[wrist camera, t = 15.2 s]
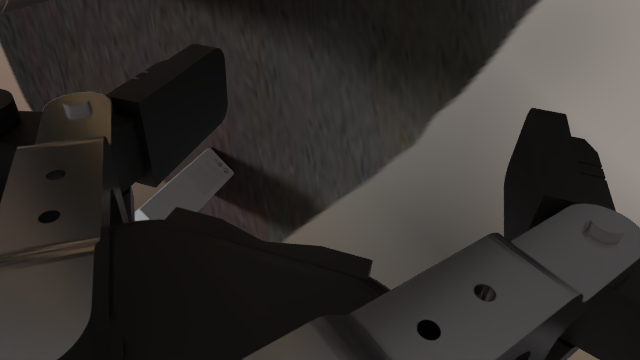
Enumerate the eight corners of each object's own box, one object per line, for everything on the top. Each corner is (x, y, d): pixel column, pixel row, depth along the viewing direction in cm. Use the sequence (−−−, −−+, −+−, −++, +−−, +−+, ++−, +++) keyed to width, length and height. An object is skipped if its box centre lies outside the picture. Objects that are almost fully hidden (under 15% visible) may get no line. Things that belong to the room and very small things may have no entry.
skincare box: (209, 145, 52) (139, 207, 43) (236, 172, 53) (172, 239, 44) (184, 168, 56) (114, 230, 46) (209, 194, 56) (145, 260, 47)
